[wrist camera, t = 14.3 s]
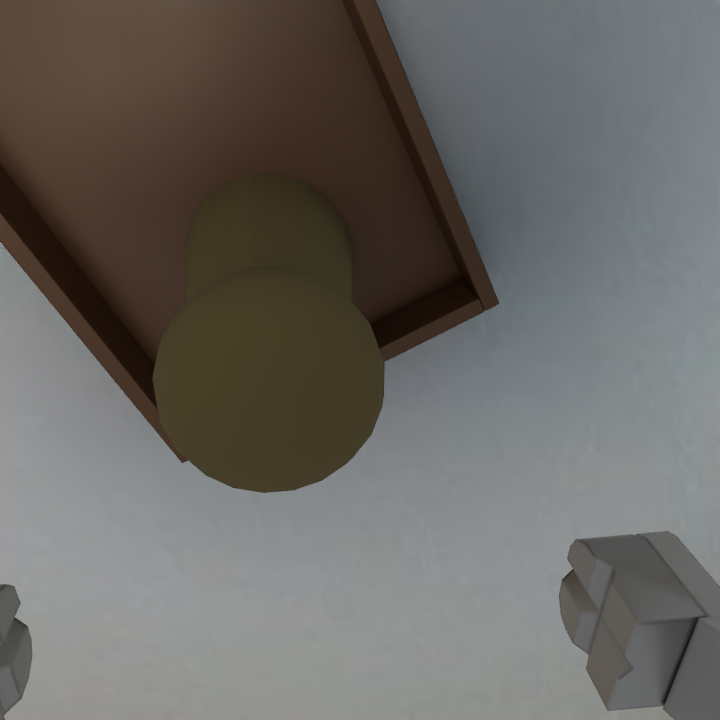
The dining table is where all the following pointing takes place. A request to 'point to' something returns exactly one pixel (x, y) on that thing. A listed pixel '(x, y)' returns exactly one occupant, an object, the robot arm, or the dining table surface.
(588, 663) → the robot arm
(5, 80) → the tray
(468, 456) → the dining table surface
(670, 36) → the dining table surface
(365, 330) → the cork
